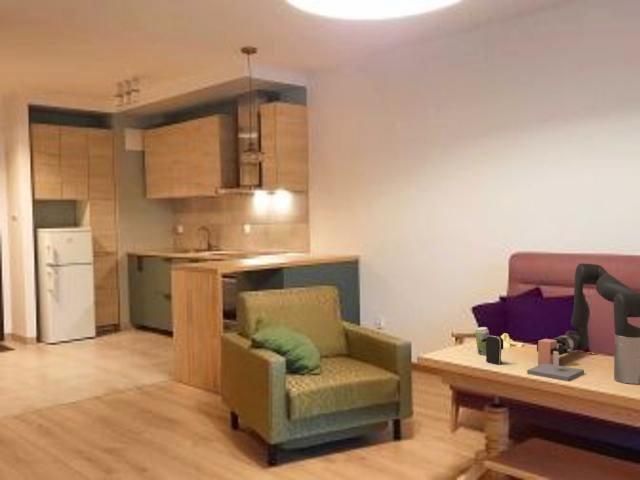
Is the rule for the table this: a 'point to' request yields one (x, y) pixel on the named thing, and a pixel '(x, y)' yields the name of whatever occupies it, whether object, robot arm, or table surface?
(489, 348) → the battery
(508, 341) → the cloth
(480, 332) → the beverage can
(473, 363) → the table surface
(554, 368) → the keyed shaft
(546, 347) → the salmon orange block
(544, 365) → the base plate
